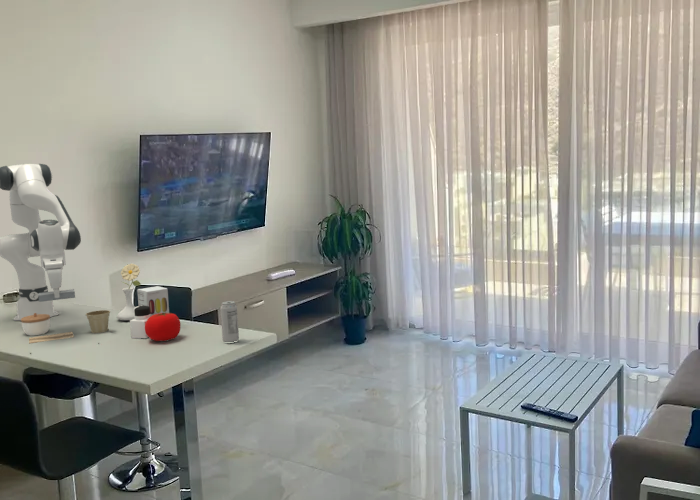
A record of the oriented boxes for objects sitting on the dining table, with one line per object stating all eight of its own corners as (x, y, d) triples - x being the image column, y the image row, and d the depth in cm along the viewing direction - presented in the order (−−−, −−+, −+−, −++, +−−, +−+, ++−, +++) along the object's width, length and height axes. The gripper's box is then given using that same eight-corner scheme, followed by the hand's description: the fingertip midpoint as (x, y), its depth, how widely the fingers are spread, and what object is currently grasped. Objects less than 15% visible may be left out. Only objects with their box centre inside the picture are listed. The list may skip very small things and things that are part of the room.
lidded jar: (40, 339, 265) (37, 316, 264) (17, 339, 268) (14, 316, 266) (57, 332, 276) (55, 310, 274) (34, 332, 278) (32, 310, 277)
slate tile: (39, 299, 263) (38, 293, 262) (74, 295, 268) (73, 289, 268) (39, 301, 257) (38, 295, 257) (75, 297, 263) (74, 291, 262)
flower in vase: (111, 321, 290) (105, 265, 287) (129, 315, 301) (124, 261, 297) (135, 323, 285) (130, 265, 282) (152, 317, 296) (147, 261, 293)
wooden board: (29, 340, 265) (29, 337, 264) (72, 334, 271) (72, 331, 271) (29, 346, 256) (29, 343, 255) (74, 339, 262) (73, 337, 262)
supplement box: (149, 332, 268) (145, 291, 265) (139, 329, 275) (136, 289, 272) (171, 328, 274) (168, 287, 272) (161, 324, 281) (158, 285, 278)
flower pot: (91, 331, 275) (89, 310, 274) (114, 329, 276) (112, 309, 274) (84, 337, 266) (82, 315, 264) (108, 335, 266) (106, 314, 265)
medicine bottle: (157, 334, 265) (154, 304, 263) (146, 339, 258) (143, 308, 257) (142, 333, 267) (139, 304, 266) (130, 338, 260) (128, 308, 259)
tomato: (171, 344, 248) (169, 317, 247) (139, 344, 250) (137, 317, 249) (187, 334, 262) (185, 308, 261) (157, 334, 264) (155, 308, 263)
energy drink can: (233, 338, 252) (230, 300, 250) (242, 341, 248) (239, 302, 246) (219, 342, 248) (216, 303, 246) (228, 345, 244) (226, 305, 242)
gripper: (44, 259, 269) (48, 292, 271) (44, 265, 250) (48, 301, 252) (61, 257, 271) (64, 291, 273) (62, 263, 253) (66, 299, 255)
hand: (56, 296), depth 262 cm, fingers closed on slate tile, 6 cm apart
